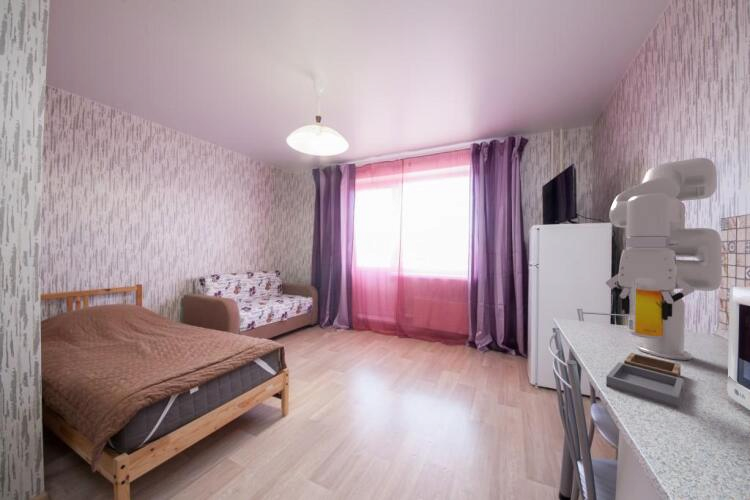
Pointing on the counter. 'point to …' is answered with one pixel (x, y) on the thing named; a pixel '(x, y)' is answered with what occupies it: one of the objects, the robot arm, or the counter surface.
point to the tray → (646, 384)
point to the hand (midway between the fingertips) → (645, 315)
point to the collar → (654, 364)
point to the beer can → (645, 309)
